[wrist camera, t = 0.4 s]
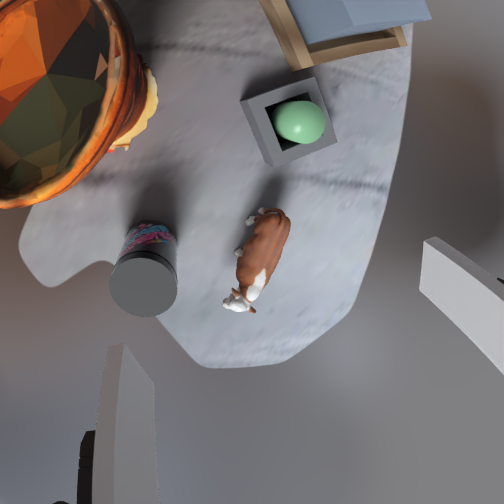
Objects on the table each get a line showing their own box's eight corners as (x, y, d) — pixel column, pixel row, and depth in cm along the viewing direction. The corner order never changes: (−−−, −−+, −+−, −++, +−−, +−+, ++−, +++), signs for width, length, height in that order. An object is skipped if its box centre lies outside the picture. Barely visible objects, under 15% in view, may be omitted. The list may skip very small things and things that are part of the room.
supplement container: (186, 233, 37) (189, 276, 28) (163, 275, 39) (160, 326, 29) (138, 209, 34) (124, 245, 25) (117, 254, 36) (100, 300, 27)
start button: (265, 109, 30) (277, 109, 26) (300, 96, 30) (317, 95, 26) (279, 145, 32) (293, 150, 28) (313, 131, 32) (330, 135, 28)
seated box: (283, -3, 25) (322, -38, 15) (356, -12, 25) (407, -36, 15) (305, 45, 28) (353, 25, 19) (375, 31, 28) (431, 19, 19)
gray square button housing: (239, 101, 31) (246, 100, 27) (301, 79, 31) (314, 76, 28) (265, 162, 35) (274, 168, 31) (322, 138, 35) (337, 142, 31)
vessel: (50, 171, 29) (-52, 229, 11) (46, 59, 23) (-57, 27, 5) (163, 153, 32) (139, 193, 14) (160, 36, 26) (142, -53, 8)
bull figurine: (212, 280, 40) (219, 317, 33) (257, 191, 36) (277, 212, 29) (240, 289, 42) (253, 326, 35) (287, 205, 38) (312, 229, 31)
